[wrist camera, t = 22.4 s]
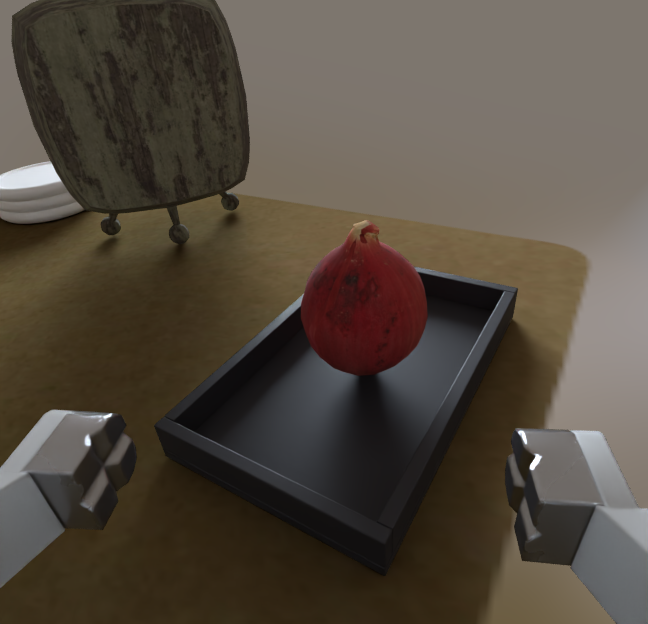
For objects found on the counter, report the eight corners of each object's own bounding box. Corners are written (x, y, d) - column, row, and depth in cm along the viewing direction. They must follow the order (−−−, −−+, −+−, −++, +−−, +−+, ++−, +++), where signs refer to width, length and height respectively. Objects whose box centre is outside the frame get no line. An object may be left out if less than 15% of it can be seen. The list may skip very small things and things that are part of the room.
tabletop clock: (247, 201, 47) (188, -144, 33) (271, 235, 40) (209, -185, 26) (92, 232, 44) (-48, -140, 30) (88, 276, 36) (-98, -187, 22)
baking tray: (385, 577, 16) (384, 544, 15) (165, 456, 21) (152, 425, 20) (512, 316, 28) (518, 287, 27) (351, 278, 33) (350, 252, 32)
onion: (402, 426, 21) (406, 267, 17) (288, 394, 23) (265, 246, 19) (436, 349, 25) (446, 205, 21) (337, 327, 28) (327, 194, 23)
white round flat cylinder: (40, 232, 45) (24, 195, 43) (-20, 218, 49) (-37, 184, 47) (124, 194, 52) (113, 162, 50) (64, 185, 56) (53, 155, 54)
